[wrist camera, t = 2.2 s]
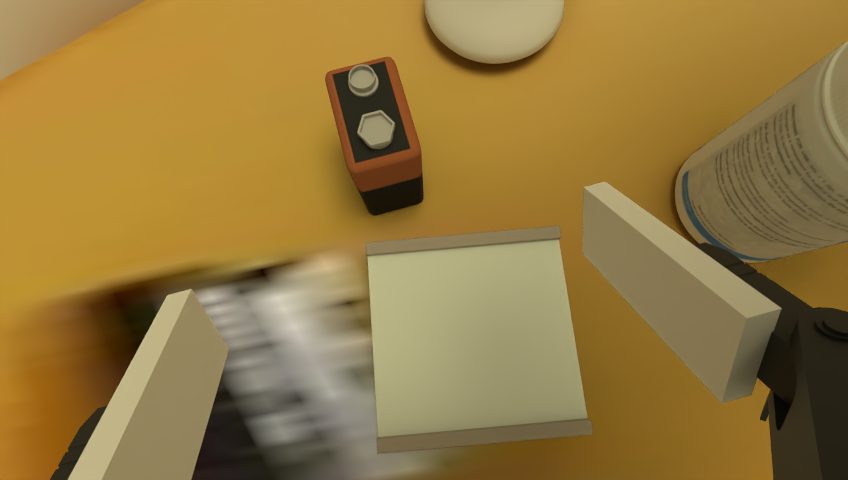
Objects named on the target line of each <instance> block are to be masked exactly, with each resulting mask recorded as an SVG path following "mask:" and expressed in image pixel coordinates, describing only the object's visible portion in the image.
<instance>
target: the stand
mask: <svg viewBox="0 0 848 480" xmlns="http://www.w3.org/2000/svg"><path fill="white" fill-rule="evenodd" d="M560 238H561V232H560V226H550V227H539V228H527V229H516V230H505V231H493V232H482V233H471V234H459V235H448V236H437V237H425V238H414V239H403V240H391V241H380V242H369V243H366V255H367V256H368V272H369V289H370V307H371V324H372V341H373V358H374V376H375V393H376V410H377V427H378V438H377V450H378V454H380V453H391V452H402V451H413V450H424V449H435V448H446V447H458V446H469V445H480V444H491V443H502V442H513V441H525V440H536V439H547V438H558V437H569V436H580V435H591V434H593V428H592V422H591V420H590V419H588V418H587V412H586V405H585V399H584V393H583V387H582V381H581V374H580V368H579V362H578V356H577V350H576V343H575V337H574V331H573V325H572V319H571V312H570V306H569V300H568V294H567V288H566V281H565V275H564V269H563V263H562V257H561V251H560V244H559V239H560Z"/></svg>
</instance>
